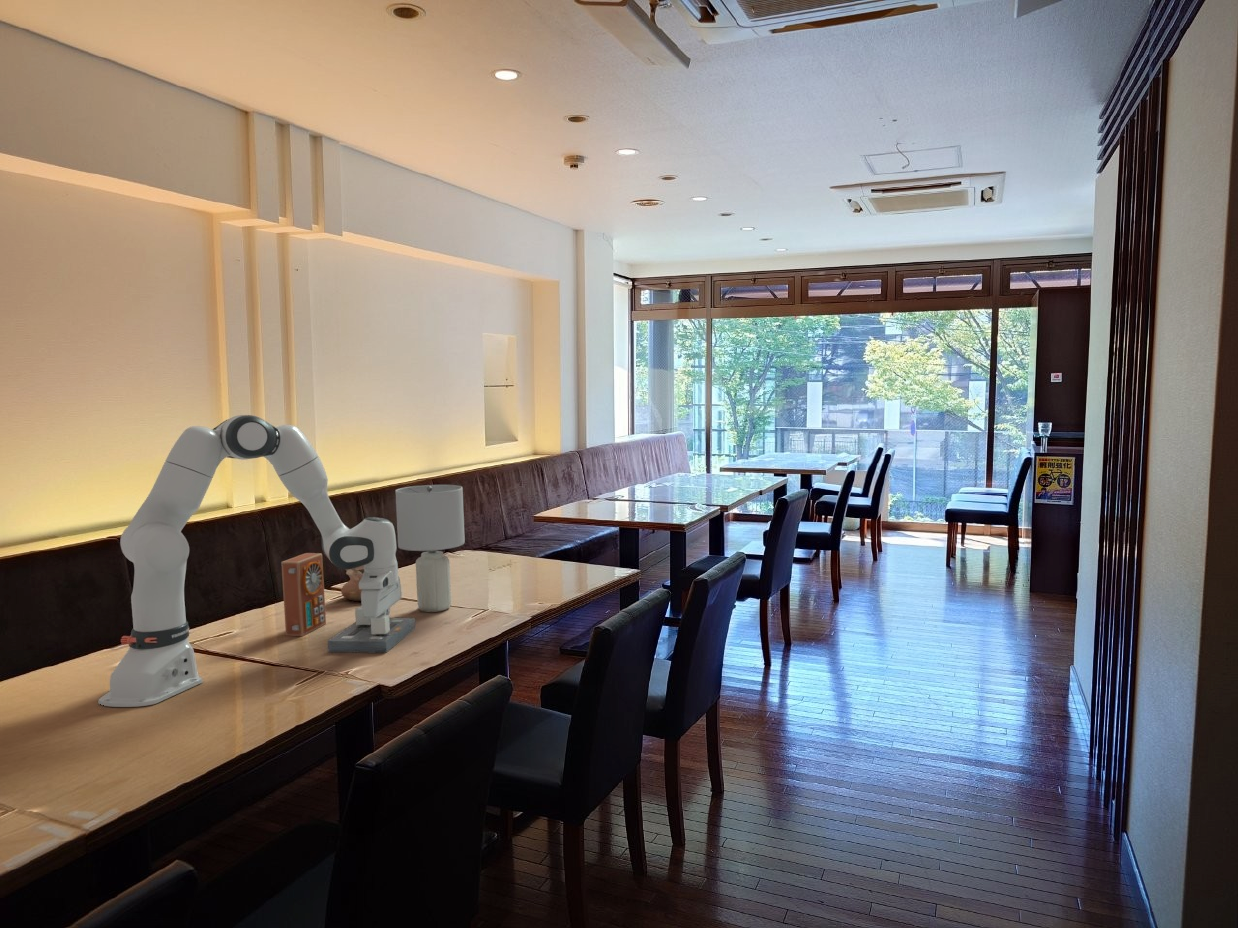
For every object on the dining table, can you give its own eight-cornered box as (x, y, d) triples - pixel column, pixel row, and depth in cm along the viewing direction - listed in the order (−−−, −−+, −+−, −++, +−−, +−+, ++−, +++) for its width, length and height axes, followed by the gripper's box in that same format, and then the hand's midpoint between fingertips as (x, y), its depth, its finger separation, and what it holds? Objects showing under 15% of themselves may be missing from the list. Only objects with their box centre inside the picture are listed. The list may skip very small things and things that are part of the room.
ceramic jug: (370, 606, 267) (367, 562, 266) (330, 603, 271) (328, 561, 270) (398, 592, 285) (396, 551, 283) (361, 590, 288) (359, 550, 287)
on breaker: (369, 624, 234) (368, 609, 233) (355, 624, 234) (355, 609, 234) (373, 621, 237) (372, 606, 236) (360, 621, 237) (359, 606, 237)
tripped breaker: (385, 633, 224) (384, 618, 224) (371, 633, 225) (370, 617, 224) (389, 630, 227) (389, 614, 227) (375, 630, 228) (374, 614, 227)
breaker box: (386, 652, 220) (386, 641, 219) (328, 652, 221) (327, 640, 221) (415, 628, 241) (414, 617, 241) (361, 627, 243) (361, 617, 243)
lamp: (430, 621, 248) (424, 492, 244) (387, 611, 260) (381, 488, 257) (480, 606, 264) (475, 484, 260) (438, 597, 276) (433, 481, 273)
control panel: (330, 622, 249) (302, 637, 235) (309, 621, 251) (280, 636, 236) (326, 552, 247) (297, 563, 233) (305, 551, 249) (275, 562, 234)
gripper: (384, 567, 239) (387, 614, 240) (355, 584, 218) (359, 636, 220) (405, 566, 238) (408, 614, 239) (379, 584, 218) (382, 636, 219)
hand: (384, 624), depth 229 cm, fingers closed
